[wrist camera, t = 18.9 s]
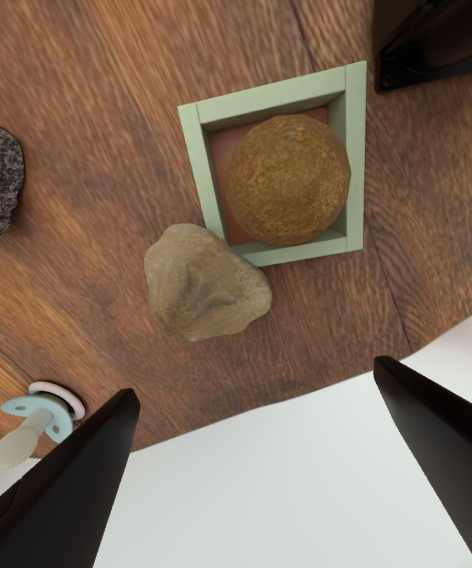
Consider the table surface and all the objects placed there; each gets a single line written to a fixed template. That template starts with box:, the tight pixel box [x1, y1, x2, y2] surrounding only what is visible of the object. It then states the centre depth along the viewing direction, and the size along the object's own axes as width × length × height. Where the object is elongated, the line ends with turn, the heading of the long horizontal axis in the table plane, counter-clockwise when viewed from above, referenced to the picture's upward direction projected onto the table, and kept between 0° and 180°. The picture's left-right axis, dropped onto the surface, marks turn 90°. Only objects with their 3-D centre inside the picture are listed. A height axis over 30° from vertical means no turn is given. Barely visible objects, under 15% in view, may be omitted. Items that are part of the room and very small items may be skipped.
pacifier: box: [0, 381, 85, 469], centre depth 24 cm, size 7×6×6 cm
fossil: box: [144, 223, 272, 342], centre depth 16 cm, size 9×4×10 cm
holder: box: [177, 60, 367, 267], centre depth 16 cm, size 10×10×4 cm
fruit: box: [226, 114, 351, 246], centre depth 13 cm, size 6×6×8 cm
